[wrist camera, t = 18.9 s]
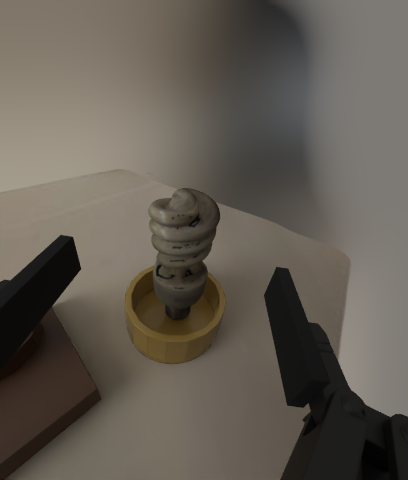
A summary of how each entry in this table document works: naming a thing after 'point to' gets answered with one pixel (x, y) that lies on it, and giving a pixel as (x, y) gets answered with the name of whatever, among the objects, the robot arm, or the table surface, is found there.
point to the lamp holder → (172, 321)
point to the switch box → (41, 393)
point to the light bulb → (182, 248)
